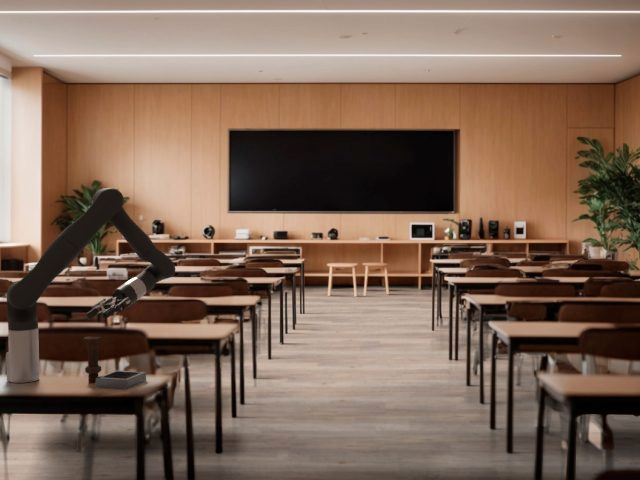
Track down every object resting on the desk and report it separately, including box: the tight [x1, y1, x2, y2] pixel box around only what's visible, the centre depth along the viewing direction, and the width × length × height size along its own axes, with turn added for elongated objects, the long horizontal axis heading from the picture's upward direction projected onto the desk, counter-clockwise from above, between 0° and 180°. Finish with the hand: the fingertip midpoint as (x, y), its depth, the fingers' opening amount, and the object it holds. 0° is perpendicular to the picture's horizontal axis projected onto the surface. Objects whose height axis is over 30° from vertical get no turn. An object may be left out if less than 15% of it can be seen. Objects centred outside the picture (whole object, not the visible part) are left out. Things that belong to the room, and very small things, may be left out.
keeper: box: [95, 370, 147, 390], centre depth 228 cm, size 11×11×3 cm
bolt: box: [82, 335, 103, 384], centre depth 230 cm, size 6×5×15 cm
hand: (95, 316), depth 233 cm, fingers open, 8 cm apart
